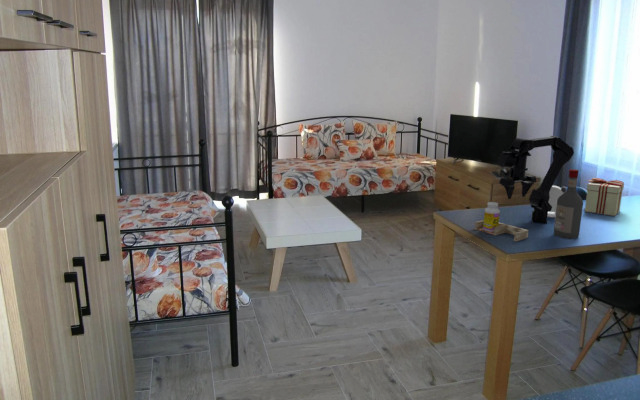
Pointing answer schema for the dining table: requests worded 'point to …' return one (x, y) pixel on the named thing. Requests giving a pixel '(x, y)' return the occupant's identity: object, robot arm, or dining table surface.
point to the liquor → (569, 210)
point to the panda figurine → (554, 199)
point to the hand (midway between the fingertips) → (516, 197)
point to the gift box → (604, 196)
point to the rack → (504, 230)
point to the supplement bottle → (491, 217)
